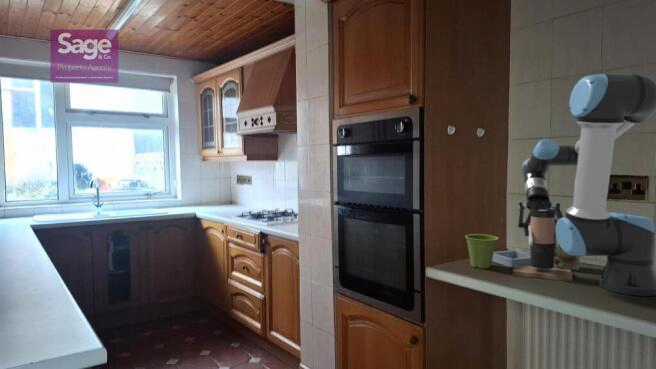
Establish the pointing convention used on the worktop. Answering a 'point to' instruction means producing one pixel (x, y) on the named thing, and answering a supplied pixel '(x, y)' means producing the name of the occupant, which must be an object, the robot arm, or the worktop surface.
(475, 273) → the worktop surface
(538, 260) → the travel mug
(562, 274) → the walnut board
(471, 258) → the plant pot
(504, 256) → the holder frame
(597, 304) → the worktop surface
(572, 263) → the coffee box
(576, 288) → the worktop surface
